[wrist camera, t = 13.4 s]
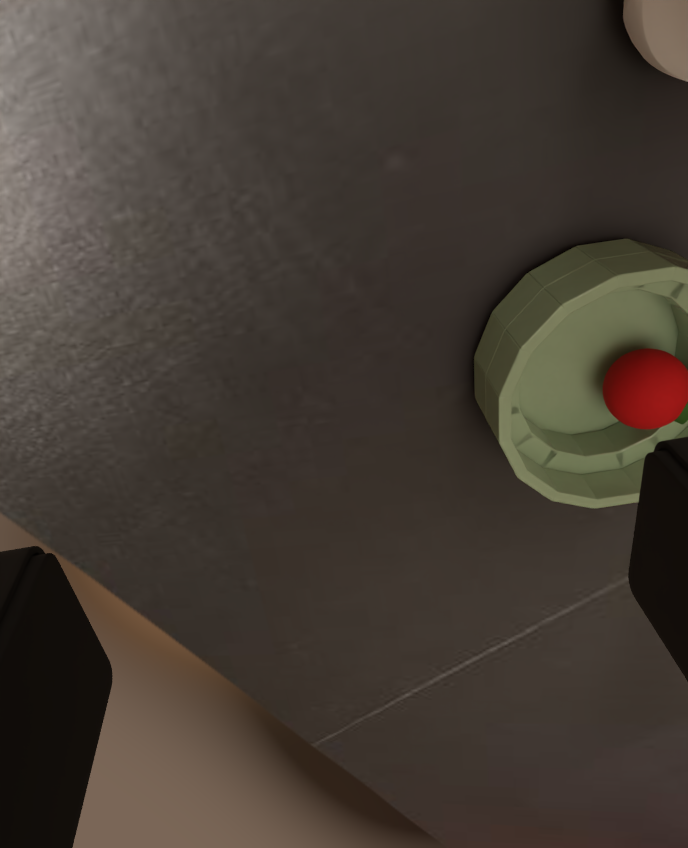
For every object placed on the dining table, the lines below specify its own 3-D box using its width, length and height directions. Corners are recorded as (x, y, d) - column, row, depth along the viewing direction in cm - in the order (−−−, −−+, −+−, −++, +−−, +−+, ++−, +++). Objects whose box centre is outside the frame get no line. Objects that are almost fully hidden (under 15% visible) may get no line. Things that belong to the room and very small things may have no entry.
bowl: (468, 257, 30) (498, 292, 26) (722, 219, 31) (794, 248, 26) (473, 467, 37) (498, 523, 32) (684, 435, 37) (737, 487, 33)
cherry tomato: (614, 369, 30) (707, 408, 29) (633, 320, 32) (719, 354, 31) (581, 423, 33) (664, 460, 32) (600, 375, 35) (678, 408, 34)
